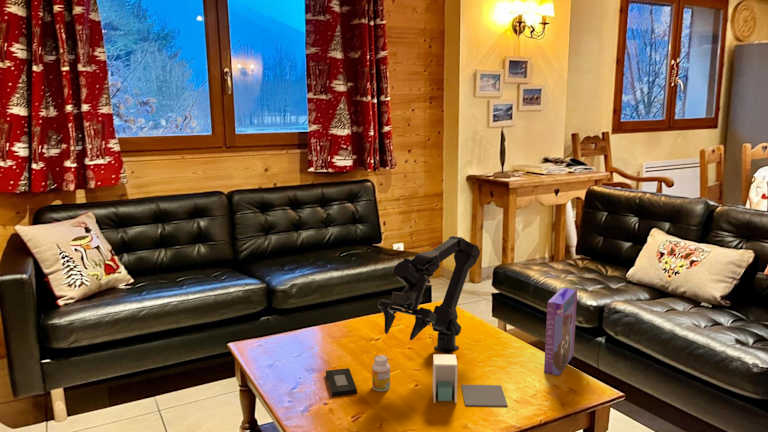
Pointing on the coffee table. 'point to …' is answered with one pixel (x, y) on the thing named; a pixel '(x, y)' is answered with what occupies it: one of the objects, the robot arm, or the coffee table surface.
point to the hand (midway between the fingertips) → (398, 336)
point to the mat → (484, 395)
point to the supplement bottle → (381, 373)
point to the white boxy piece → (444, 372)
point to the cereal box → (560, 330)
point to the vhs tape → (341, 382)
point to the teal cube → (444, 391)
